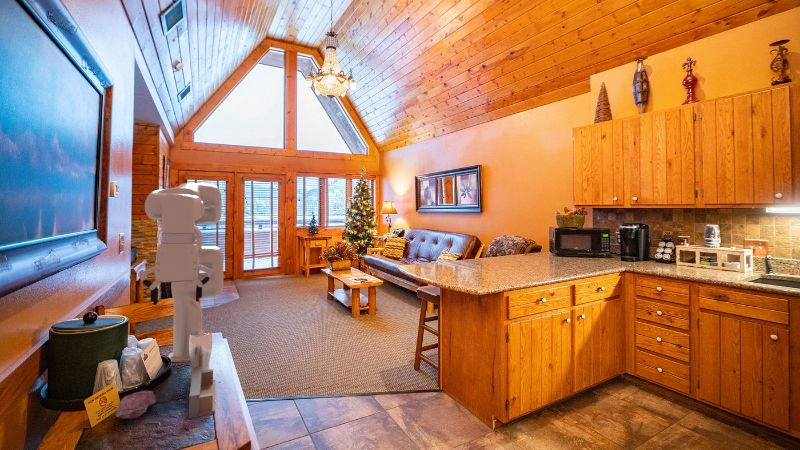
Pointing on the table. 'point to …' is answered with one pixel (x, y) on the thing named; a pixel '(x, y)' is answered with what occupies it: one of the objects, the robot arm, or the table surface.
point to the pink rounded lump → (135, 404)
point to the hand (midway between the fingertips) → (177, 302)
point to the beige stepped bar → (202, 393)
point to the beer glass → (200, 349)
